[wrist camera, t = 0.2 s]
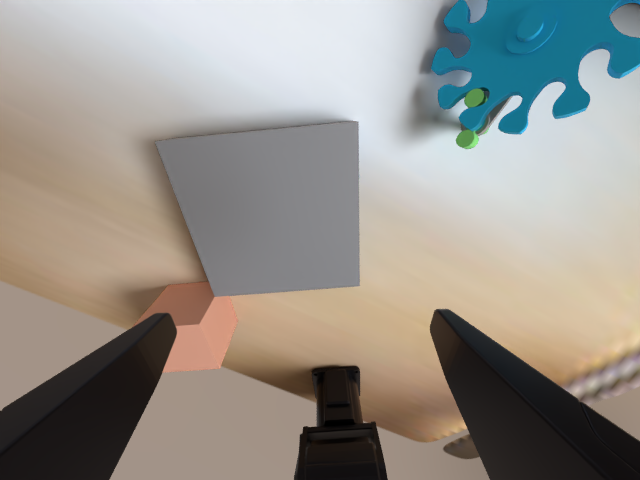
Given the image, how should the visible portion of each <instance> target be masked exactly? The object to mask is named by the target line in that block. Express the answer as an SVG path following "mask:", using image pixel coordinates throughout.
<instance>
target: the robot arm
mask: <svg viewBox="0 0 640 480" xmlns="http://www.w3.org/2000/svg"><path fill="white" fill-rule="evenodd" d="M430 333H431V336H432V339H433V342H434V345H435V348H436V351H437V354H438V357H439V360H440V363H441V366H442V370H443V372H444V375H445V378H446V380H447V383H448V385H449V388H450V390H451V392H452V394H453V397H454V399H455V401H456V403H457V406H458V408H459V410H460V413H461V415H462V417H463V419H464V422H465V424H466V426H467V428H468V430H469V433H470V435H471V437H472V440H473V442H474V444H475V446H476V449H477V451H478V453H479V456H480V458H481V460H482V462H483V464H484V467H485V469H486V471H487V474H488V476H489V478H490V480H640V441H639V440H637V439H636V438H634V437H633V436H631V435H630V434H629V433H627V432H626V431H624V430H623V429H621V428H620V427H618V426H617V425H615V424H614V423H612V422H611V421H609V420H608V419H606V418H605V417H604V416H602V415H601V414H599V413H598V412H596V411H595V410H593V409H592V408H591V407H589V406H588V405H586V404H585V403H583V402H581V401H579V400H578V399H577V398H576V397H575V396H573V395H572V394H570V393H569V392H567V391H566V390H564V389H563V388H562V387H560V386H559V385H557V384H556V383H554V382H553V381H552V380H550V379H549V378H547V377H546V376H544V375H543V374H541V373H540V372H539V371H537V370H536V369H534V368H533V367H531V366H530V365H529V364H527V363H526V362H524V361H523V360H521V359H520V358H518V357H517V356H516V355H514V354H513V353H511V352H510V351H508V350H507V349H505V348H504V347H503V346H501V345H500V344H498V343H497V342H495V341H494V340H493V339H491V338H490V337H488V336H487V335H485V334H484V333H482V332H481V331H480V330H478V329H477V328H475V327H474V326H472V325H471V324H469V323H468V322H467V321H465V320H464V319H462V318H461V317H459V316H458V315H457V314H455V313H454V312H452V311H451V310H449V309H436V310H435V311H434V314H433V318H432V321H431V324H430ZM176 336H177V328H176V326H175V323H174V321H173V319H172V316H171V314H169V313H155V314H153V315H151V316H150V317H148V318H147V319H145V320H143V321H142V322H140V323H139V324H137V325H135V326H134V327H132V328H131V329H129V330H127V331H126V332H124V333H123V334H121V335H119V336H118V337H116V338H115V339H113V340H112V341H110V342H108V343H107V344H105V345H104V346H102V347H100V348H99V349H97V350H95V351H94V352H92V353H91V354H89V355H88V356H86V357H84V358H83V359H81V360H79V361H78V362H76V363H75V364H73V365H71V366H70V367H68V368H67V369H65V370H63V371H62V372H60V373H59V374H57V375H56V376H54V377H52V378H51V379H49V380H48V381H46V382H44V383H43V384H41V385H39V386H38V387H36V388H35V389H33V390H32V391H30V392H28V393H27V394H25V395H23V396H22V397H21V398H19V399H17V400H16V401H14V402H12V403H11V404H9V405H8V406H6V407H4V408H3V409H2V411H0V480H109V479H110V477H111V475H112V473H113V471H114V469H115V467H116V465H117V464H118V462H119V459H120V458H121V456H122V454H123V452H124V450H125V448H126V446H127V444H128V442H129V440H130V438H131V436H132V434H133V432H134V430H135V428H136V426H137V424H138V422H139V420H140V418H141V416H142V414H143V412H144V410H145V408H146V406H147V404H148V402H149V400H150V398H151V396H152V394H153V392H154V390H155V388H156V386H157V384H158V381H159V379H160V377H161V374H162V372H163V369H164V367H165V364H166V362H167V359H168V357H169V354H170V352H171V349H172V347H173V344H174V341H175V339H176ZM312 379H313V385H314V391H315V397H316V399H317V427H307V426H306V427H303V433H302V434H301V435H300V446H299V455H298V460H297V465H296V471H295V475H294V480H388V479H387V473H386V468H385V463H384V458H383V453H382V449H381V445H380V441H379V436H378V431H377V427H376V423H375V422H371V423H363V420H362V413H361V406H360V400H359V396H360V369H359V368H358V367H346V368H331V369H315V370H313V371H312Z"/></svg>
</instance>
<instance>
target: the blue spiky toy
mask: <svg viewBox="0 0 640 480" xmlns="http://www.w3.org/2000/svg"><path fill="white" fill-rule="evenodd" d="M627 3H637V4H639V5H640V0H488V3H487V9H486V12H485V14H484V16H483V17H482V18H481V19H480V20H479V21H477V22H475V23H469V22H470V10H469V7H468V5H467V3H466V2H465V1H464V0H459V1H458V2H457V3H456V4H455V5H454V6H453V7H452V9H451V10H450V11H449V13H448V14H447V16H446V17H445V19H444V24H445V26H446V27H447V29H448V30H449V31H450V32H451V33H461V34H464V35H465V36H467V37H468V38H469V40H470V42H471V45H470V48H469V50H468V52H467V53H466V54H465V55H464V56H462V57H460V58H455V57H454V55H453V54H452V52H451V51H450V50H449V49H448V48H446V47H442V48H440V49H438V50H437V52H436V54H435V56H434V59H433V63H432V67H431V69H432V70H433V71H434V72H435V73H436V74H437V75H443V74H445V73H447V72H450V71H453V70H465V71H468V72H471V73H472V77H471V79H470V81H469V82H468V83H467V84H466V85H465V86H463V87H456V86H453V85H450V84H447V85H444V86H442V87H441V88H440V89H439V90H438V101H439V105H440V107H441V108H443V109H450V108H452V107H453V106H454V105H455V104H456V103H457V102H459V101H460V100H461V99H463V98H464V97H465V100H464V102H465V105H466V106H467V107H468V109H466V110H464V111H463V112H462V113H461V115H460V116H459V120H460V122H461V130H462V132H461V133H459V135H458V136H457V139H456V143H457V145H458V146H460V147H462V148H465V149H471V148H473V147H475V146H476V145H477V143H478V140H479V138H478V136H480V135H482V134H485V133H486V132H487V131H488V129H489V127H490V126H491V124H492V123H493V122H494V120H495V119H496V118H497V116H498V115H499V114H500V112H501V111H502V110H503V108H504V107H505V106H506V104H507V103H508V102H509V100H510V99H511V98H512V96H514V95H519V96H521V97H522V98H523V99H522V103H521V104H520V106H519V107H518V108H517V109H515V110H513V111H512V112H510V113H508V114H507V115H505V116H504V117H503V118H502V119H501V121H500V123H499V126H498V129H499V130H500V131H502V132H504V133H508V134H522V133H523V132H524V131H525V130H526V128H527V126H528V113H529V110H530V107H531V105H532V103H533V101H534V100H535V98H536V97H537V96H538V94H539V93H540V92H541V91H542V89H543V88H544V87H545V86H547V85H548V84H550V83H553V82H562V83H564V84H565V86H566V89H565V91H564V92H563V93H562V94H561V96H560V97H559V98H558V99H557V100H556V102H555V103H554V105H553V111H552V113H553V116H554V118H555V119H559V118H565V117H569V116H572V115H575V114H578V113H580V112H583V111H585V110H586V108H587V106H588V105H589V102H590V96H589V94H588V93H587V92H586V91H585V90H584V89H583V88H582V87H581V85H580V83H579V80H578V70H579V65H580V61H581V60H582V58H583V57H584V56H585V55H587V54H588V53H590V52H591V51H594V50H597V49H606V50H608V51H609V52H610V60H609V64H608V68H607V71H608V74H609V75H610V76H611V77H613V78H621V77H623V76H625V75H627V74H629V73H630V72H632V71H634V70H635V69H636V68H638V67H639V66H640V38H636V37H629V36H626V35H624V34H622V33H620V32H619V31H618V30H617V29H616V28H615V27H614V25H613V24H612V22H611V20H610V18H609V16H610V14H611V13H612V12H613V11H614V10H616V9H617V8H619V7H620V6H622V5H624V4H627Z"/></svg>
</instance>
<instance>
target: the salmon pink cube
mask: <svg viewBox="0 0 640 480" xmlns="http://www.w3.org/2000/svg"><path fill="white" fill-rule="evenodd" d="M155 313H169V314H171V316H172V319H173V321H174V323H175V326H176V328H177V336H176V339H175V341H174V344H173V347H172V349H171V352H170V354H169V357H168V359H167V362H166V364H165V367H164V369H163V372H177V371H191V370H208V369H220V367H221V364H222V362H223V359H224V356H225V354H226V351H227V348H228V346H229V343H230V341H231V338H232V335H233V333H234V330H235V328H236V325H237V322H238V320H237V317H236V314H235V311H234V308H233V305H232V302H231V300H230V297H229V296H222V297H215V296H214V294H213V291H212V289H211V286H210V283H209V282H199V283H187V284H174V285H168V286H167V287H166V289H165V290H164V291H163V292H162V293H161V294H160V295H159V297H158V298H157V299H156V300H155V301H154V302H153V304H152V305H151V306H150V307H149V308H148V309H147V310H146V312H145V313H144V314H143V315H142V316H141V317H140V318H139V320H138V321H137V322H136V323H135V324H134V325H133V327H134V326H135V325H137V324H139V323H140V322H142V321H143V320H145V319H147V318H148V317H150V316H151V315H153V314H155ZM163 372H162V373H163Z"/></svg>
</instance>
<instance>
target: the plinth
mask: <svg viewBox="0 0 640 480" xmlns="http://www.w3.org/2000/svg"><path fill="white" fill-rule="evenodd" d="M155 144H156V146H157V149H158V152H159V154H160V157H161V159H162V162H163V165H164V167H165V170H166V172H167V175H168V177H169V180H170V183H171V185H172V188H173V190H174V193H175V196H176V198H177V201H178V203H179V206H180V208H181V211H182V214H183V216H184V219H185V221H186V224H187V227H188V229H189V232H190V234H191V237H192V239H193V242H194V245H195V247H196V250H197V252H198V255H199V258H200V260H201V263H202V265H203V268H204V270H205V273H206V276H207V278H208V281H209V283H210V286H211V289H212V291H213V294H214V296H215V297H222V296H235V295H248V294H262V293H275V292H288V291H302V290H315V289H328V288H341V287H355V286H360V273H359V141H358V122H356V121H348V122H338V123H327V124H317V125H306V126H296V127H286V128H275V129H265V130H254V131H244V132H233V133H223V134H213V135H202V136H192V137H181V138H172V139H166V140H160V141H155Z"/></svg>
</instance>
